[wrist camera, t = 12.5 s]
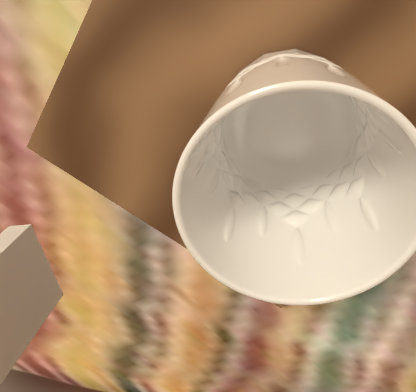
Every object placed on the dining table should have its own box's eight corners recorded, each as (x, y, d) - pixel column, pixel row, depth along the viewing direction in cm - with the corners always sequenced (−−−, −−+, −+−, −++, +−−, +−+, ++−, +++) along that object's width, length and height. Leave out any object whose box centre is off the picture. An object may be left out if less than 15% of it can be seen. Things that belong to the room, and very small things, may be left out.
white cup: (378, 155, 21) (456, 278, 12) (242, 197, 23) (226, 324, 15) (341, 7, 18) (410, 30, 9) (189, 73, 20) (127, 140, 11)
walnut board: (544, 66, 19) (560, 71, 18) (280, 296, 28) (280, 308, 27) (210, -237, 15) (206, -254, 14) (36, 140, 25) (26, 147, 24)
